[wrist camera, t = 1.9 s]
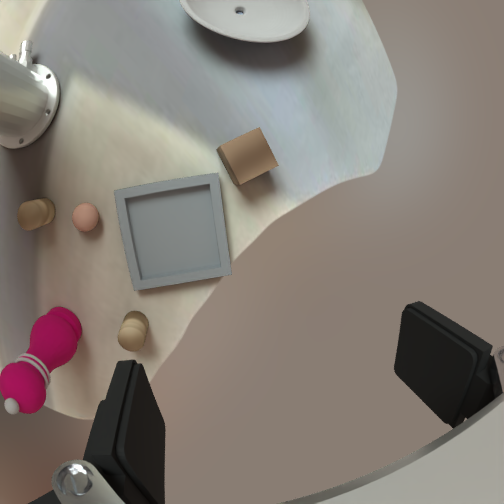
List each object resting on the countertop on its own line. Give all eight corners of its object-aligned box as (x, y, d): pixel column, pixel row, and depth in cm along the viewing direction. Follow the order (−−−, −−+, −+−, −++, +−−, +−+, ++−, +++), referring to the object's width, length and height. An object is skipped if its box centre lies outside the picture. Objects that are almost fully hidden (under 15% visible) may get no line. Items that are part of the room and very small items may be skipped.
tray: (117, 189, 35) (113, 190, 33) (216, 172, 37) (218, 172, 35) (136, 285, 38) (134, 290, 36) (229, 269, 40) (231, 274, 39)
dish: (159, 32, 30) (156, 15, 26) (204, -33, 28) (207, -51, 23) (278, 74, 35) (290, 62, 30) (310, 7, 33) (322, -8, 28)
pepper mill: (90, 318, 38) (41, 409, 19) (78, 353, 39) (36, 444, 20) (50, 294, 36) (-19, 370, 17) (40, 330, 37) (-17, 411, 18)
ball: (75, 204, 34) (65, 207, 31) (99, 199, 35) (91, 201, 31) (80, 231, 35) (71, 236, 32) (104, 226, 36) (96, 231, 32)
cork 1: (32, 201, 32) (15, 204, 28) (53, 195, 33) (36, 198, 28) (37, 226, 33) (20, 233, 29) (57, 221, 34) (41, 227, 29)
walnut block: (216, 149, 36) (220, 145, 32) (250, 133, 37) (259, 127, 32) (233, 183, 38) (240, 184, 33) (267, 166, 38) (278, 165, 33)
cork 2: (121, 312, 39) (114, 329, 34) (144, 309, 39) (140, 326, 35) (128, 334, 40) (122, 352, 35) (151, 331, 40) (147, 349, 36)
